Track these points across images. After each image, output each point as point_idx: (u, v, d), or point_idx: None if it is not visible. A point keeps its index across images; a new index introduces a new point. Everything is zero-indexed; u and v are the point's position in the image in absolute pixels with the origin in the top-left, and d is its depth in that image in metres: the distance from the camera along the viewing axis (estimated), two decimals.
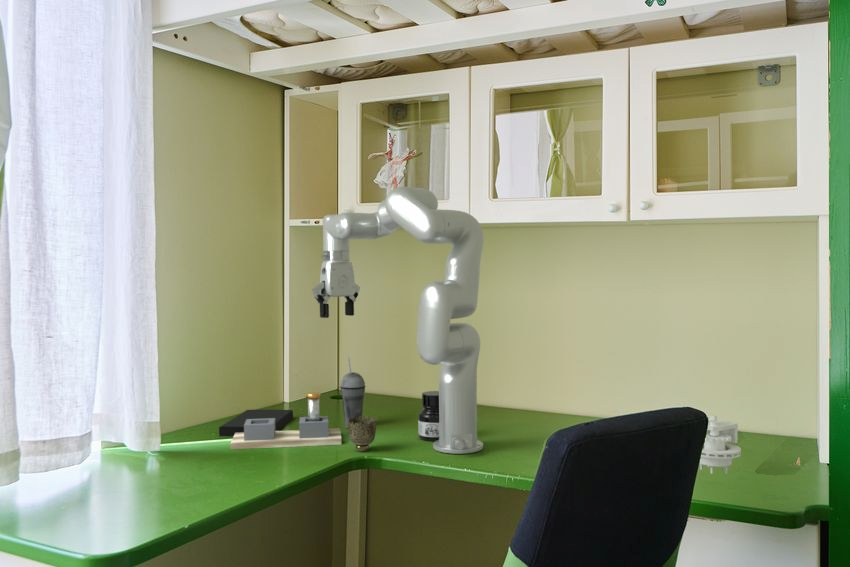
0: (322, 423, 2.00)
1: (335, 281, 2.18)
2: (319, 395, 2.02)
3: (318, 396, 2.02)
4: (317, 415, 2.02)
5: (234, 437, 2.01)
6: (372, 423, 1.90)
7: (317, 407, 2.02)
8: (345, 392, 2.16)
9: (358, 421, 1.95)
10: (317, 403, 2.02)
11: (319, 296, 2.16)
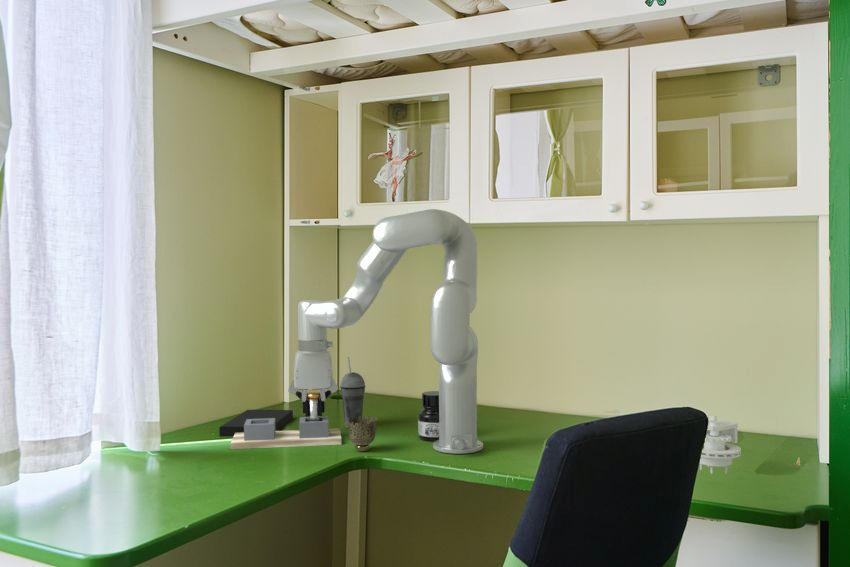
0: (322, 423, 2.00)
1: None
2: (319, 395, 2.02)
3: (318, 396, 2.02)
4: (317, 415, 2.02)
5: (234, 437, 2.01)
6: (372, 423, 1.90)
7: (317, 407, 2.02)
8: (345, 392, 2.16)
9: (358, 421, 1.95)
10: (317, 403, 2.02)
11: None
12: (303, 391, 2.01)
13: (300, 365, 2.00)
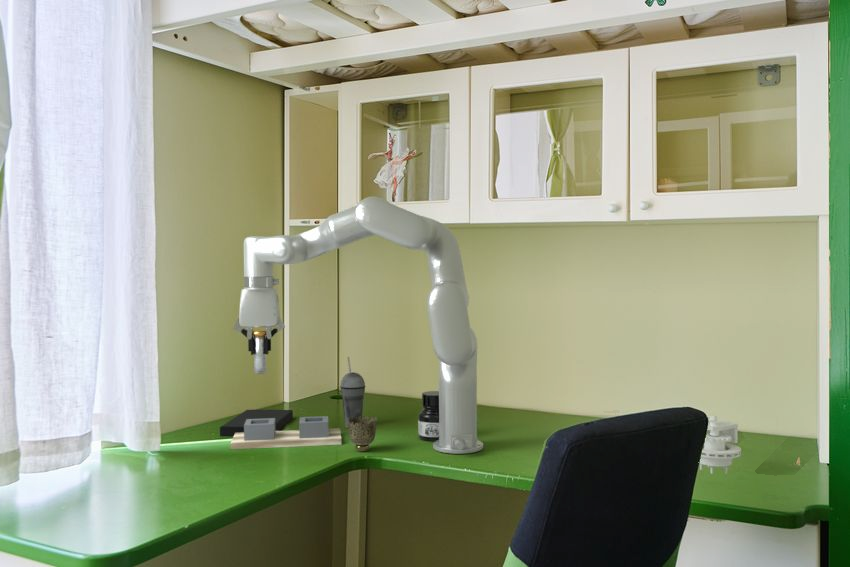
0: (322, 423, 2.00)
1: None
2: (265, 333, 2.00)
3: (264, 334, 1.99)
4: (263, 353, 2.00)
5: (234, 437, 2.01)
6: (372, 423, 1.90)
7: (263, 345, 2.00)
8: (345, 392, 2.16)
9: (358, 421, 1.95)
10: (263, 341, 2.00)
11: None
12: (248, 328, 1.99)
13: (245, 302, 1.97)
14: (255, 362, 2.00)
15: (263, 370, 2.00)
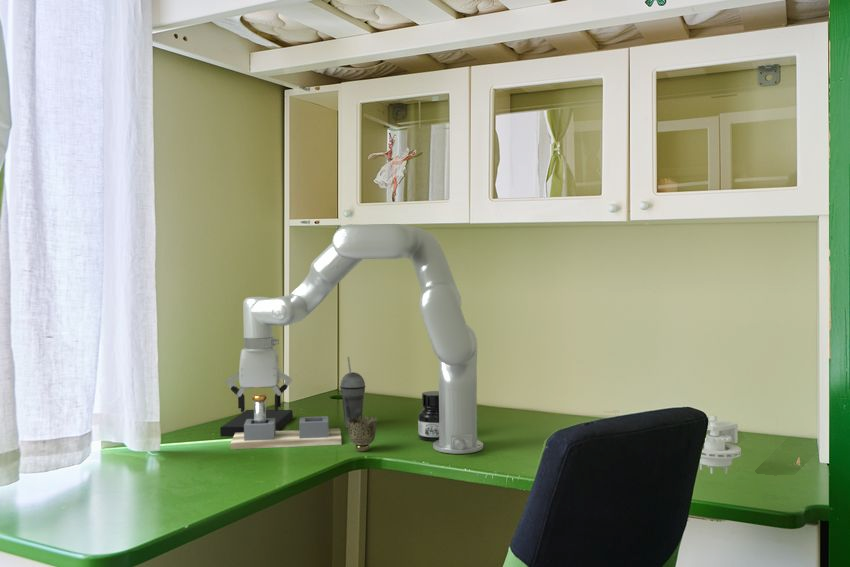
0: (322, 423, 2.00)
1: None
2: (265, 397, 2.00)
3: (264, 398, 2.00)
4: (263, 417, 2.00)
5: (234, 437, 2.01)
6: (372, 423, 1.90)
7: (263, 409, 2.00)
8: (345, 392, 2.16)
9: (358, 421, 1.95)
10: (263, 405, 2.00)
11: None
12: (242, 387, 1.99)
13: (245, 363, 1.98)
14: None
15: None
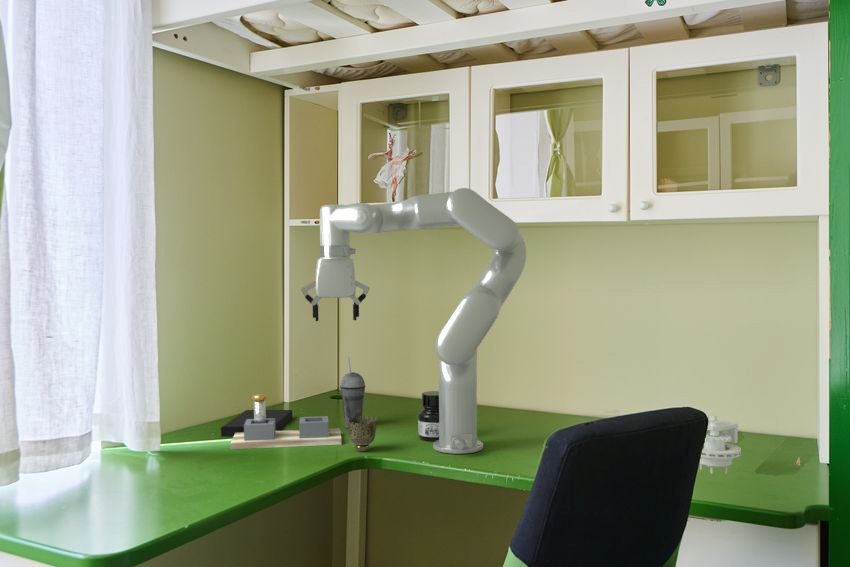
0: (322, 423, 2.00)
1: None
2: (265, 397, 2.00)
3: (264, 398, 2.00)
4: (263, 417, 2.00)
5: (234, 437, 2.01)
6: (372, 423, 1.90)
7: (263, 409, 2.00)
8: (345, 392, 2.16)
9: (358, 421, 1.95)
10: (263, 405, 2.00)
11: None
12: (318, 295, 1.94)
13: (322, 271, 1.93)
14: None
15: None
